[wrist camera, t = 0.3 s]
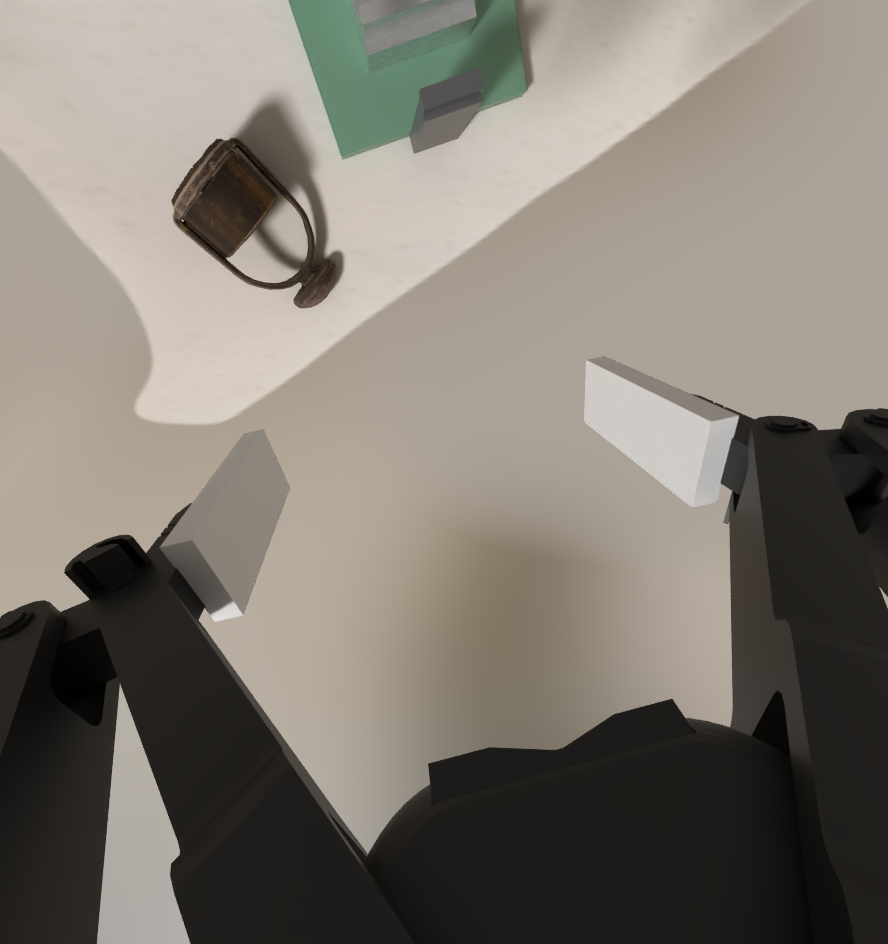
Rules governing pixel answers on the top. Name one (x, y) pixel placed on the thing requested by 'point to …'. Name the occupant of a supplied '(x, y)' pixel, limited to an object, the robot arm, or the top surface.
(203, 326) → the top surface
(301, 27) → the board
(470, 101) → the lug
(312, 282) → the antique brown clock
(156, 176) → the top surface
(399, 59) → the heatsink
